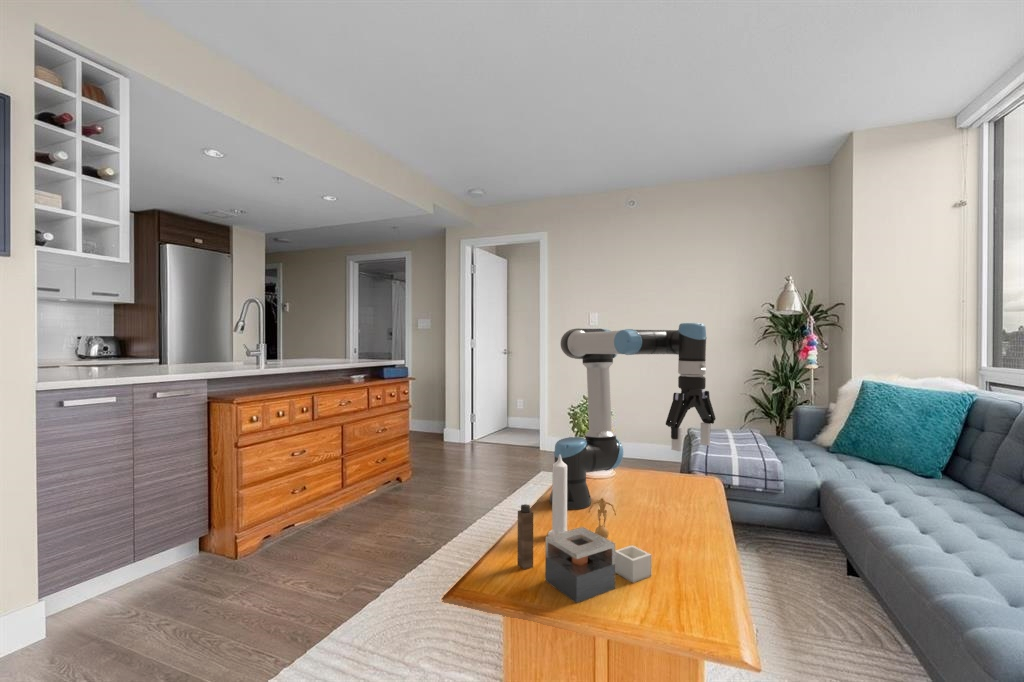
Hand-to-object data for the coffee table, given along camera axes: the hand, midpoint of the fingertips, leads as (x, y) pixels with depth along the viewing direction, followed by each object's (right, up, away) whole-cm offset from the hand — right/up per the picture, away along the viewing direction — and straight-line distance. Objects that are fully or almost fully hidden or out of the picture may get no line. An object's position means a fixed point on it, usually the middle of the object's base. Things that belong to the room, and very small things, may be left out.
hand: (691, 447), depth 141 cm
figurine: (-25, -29, +4) cm, 39 cm away
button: (-36, -25, -24) cm, 50 cm away
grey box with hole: (-36, -28, -24) cm, 52 cm away
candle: (-38, -29, +6) cm, 48 cm away
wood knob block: (-49, -28, -14) cm, 59 cm away
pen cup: (-22, -28, -18) cm, 40 cm away
